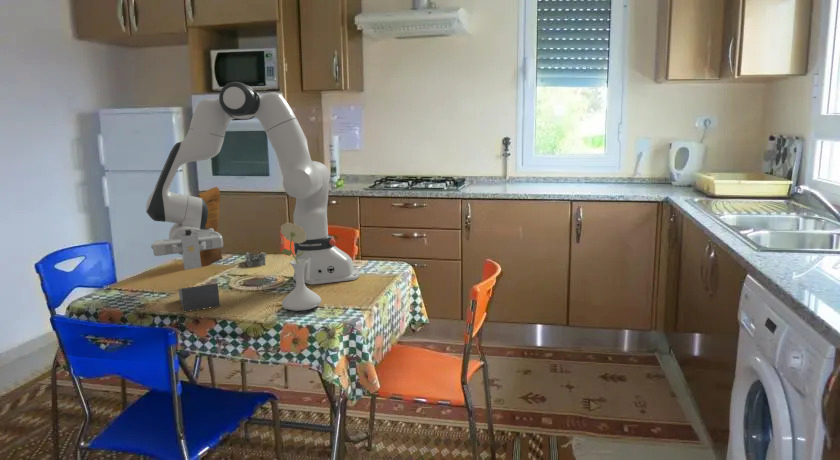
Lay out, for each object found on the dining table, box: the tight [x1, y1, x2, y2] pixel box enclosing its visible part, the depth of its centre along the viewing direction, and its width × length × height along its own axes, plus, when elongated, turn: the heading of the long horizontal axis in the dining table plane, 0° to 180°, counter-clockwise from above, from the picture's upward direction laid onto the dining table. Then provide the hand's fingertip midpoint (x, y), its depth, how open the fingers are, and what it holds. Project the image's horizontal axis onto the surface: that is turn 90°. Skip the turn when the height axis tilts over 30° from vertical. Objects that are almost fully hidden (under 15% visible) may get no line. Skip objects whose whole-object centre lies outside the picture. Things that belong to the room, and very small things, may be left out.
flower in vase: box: [280, 222, 323, 312], centre depth 181 cm, size 13×11×25 cm
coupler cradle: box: [178, 283, 221, 312], centre depth 190 cm, size 14×10×7 cm
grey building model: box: [244, 251, 267, 268], centre depth 237 cm, size 11×8×4 cm
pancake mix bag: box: [197, 186, 223, 268], centre depth 238 cm, size 7×19×28 cm, turn 168°
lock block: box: [180, 230, 202, 271], centre depth 187 cm, size 6×5×11 cm
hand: (190, 249), depth 187 cm, fingers closed on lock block, 5 cm apart
